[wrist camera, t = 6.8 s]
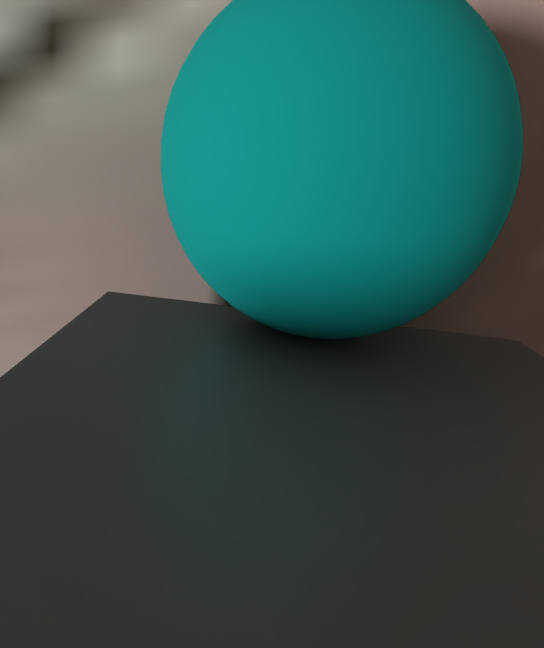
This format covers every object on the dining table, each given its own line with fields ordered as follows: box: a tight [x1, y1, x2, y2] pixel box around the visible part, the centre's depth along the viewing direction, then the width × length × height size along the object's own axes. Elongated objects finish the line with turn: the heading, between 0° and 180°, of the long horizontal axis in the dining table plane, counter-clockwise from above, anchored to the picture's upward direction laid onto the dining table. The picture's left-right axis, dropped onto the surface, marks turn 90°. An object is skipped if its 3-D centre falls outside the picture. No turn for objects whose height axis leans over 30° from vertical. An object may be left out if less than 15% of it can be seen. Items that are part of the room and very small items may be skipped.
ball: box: [161, 0, 523, 339], centre depth 7 cm, size 5×5×5 cm
